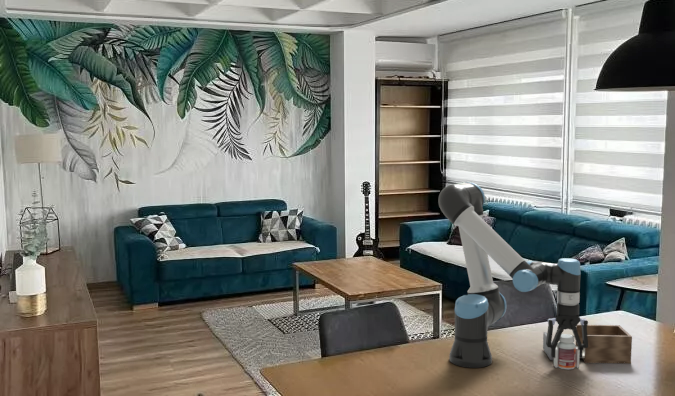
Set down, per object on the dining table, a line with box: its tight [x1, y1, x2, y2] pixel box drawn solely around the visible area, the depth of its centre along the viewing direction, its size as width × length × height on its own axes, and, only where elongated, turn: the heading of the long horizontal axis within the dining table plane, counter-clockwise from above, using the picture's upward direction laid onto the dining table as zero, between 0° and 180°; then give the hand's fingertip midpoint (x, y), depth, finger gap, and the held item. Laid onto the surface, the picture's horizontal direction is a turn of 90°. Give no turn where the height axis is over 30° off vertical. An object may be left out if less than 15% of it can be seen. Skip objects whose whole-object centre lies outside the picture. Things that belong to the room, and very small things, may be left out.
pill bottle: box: [557, 333, 576, 371], centre depth 253 cm, size 6×6×11 cm
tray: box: [542, 331, 585, 361], centre depth 264 cm, size 16×13×6 cm
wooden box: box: [575, 324, 633, 365], centre depth 263 cm, size 16×14×10 cm
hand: (566, 366), depth 253 cm, fingers open, 7 cm apart
